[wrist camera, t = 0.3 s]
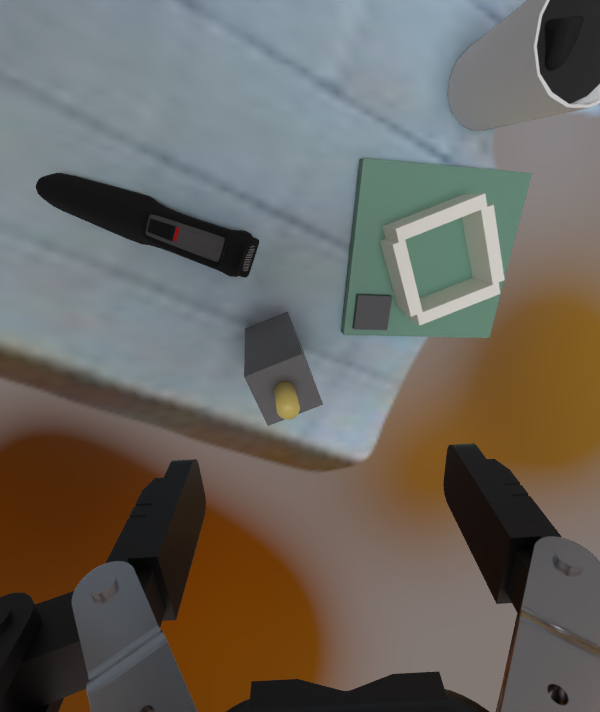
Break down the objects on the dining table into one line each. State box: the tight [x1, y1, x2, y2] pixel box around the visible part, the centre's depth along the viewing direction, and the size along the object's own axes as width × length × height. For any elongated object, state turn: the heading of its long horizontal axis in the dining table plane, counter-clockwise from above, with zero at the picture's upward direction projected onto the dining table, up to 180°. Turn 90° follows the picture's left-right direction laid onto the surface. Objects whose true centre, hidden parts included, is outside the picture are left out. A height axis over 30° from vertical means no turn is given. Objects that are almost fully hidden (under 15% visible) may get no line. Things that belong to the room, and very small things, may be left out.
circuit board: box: [341, 158, 532, 338], centre depth 32 cm, size 14×14×2 cm
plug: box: [244, 312, 323, 426], centre depth 29 cm, size 4×4×12 cm
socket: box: [380, 193, 504, 325], centre depth 31 cm, size 8×8×3 cm
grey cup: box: [448, 0, 600, 130], centre depth 24 cm, size 7×7×10 cm
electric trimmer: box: [36, 173, 259, 277], centre depth 29 cm, size 4×15×3 cm, turn 69°
